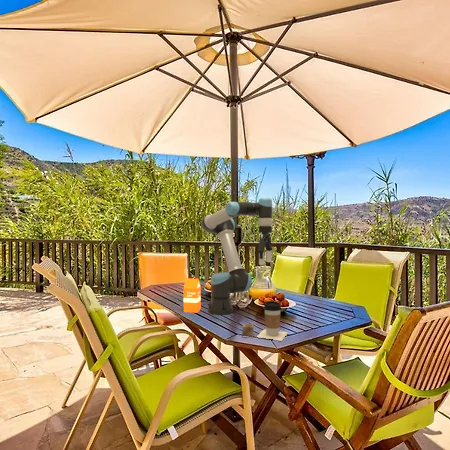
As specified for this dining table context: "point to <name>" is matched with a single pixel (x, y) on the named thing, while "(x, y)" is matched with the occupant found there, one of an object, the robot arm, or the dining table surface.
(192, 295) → the orange juice
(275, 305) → the coffee cup
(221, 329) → the dining table surface
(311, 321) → the dining table surface
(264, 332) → the coaster
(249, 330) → the walnut cube
